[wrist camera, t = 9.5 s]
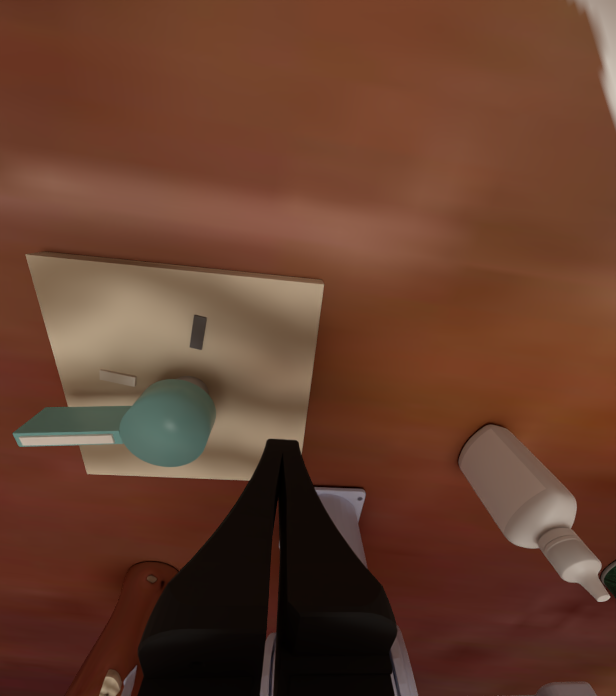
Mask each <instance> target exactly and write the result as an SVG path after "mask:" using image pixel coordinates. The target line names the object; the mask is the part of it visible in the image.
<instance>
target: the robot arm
mask: <svg viewBox="0 0 616 696" xmlns="http://www.w3.org/2000/svg"><path fill="white" fill-rule="evenodd" d="M365 496H366V493H365V490H363V489H352V488H327V487H314V486H313V484H312V481H311V479H310V477H309V474H308V472H307V469H306V467H305V464H304V461H303V458H302V455H301V451H300V447H299V442H298V441H297V440H286V439H268V440H267V441H266V445H265V448H264V451H263V454H262V456H261V459H260V461H259V463H258V465H257V467H256V469H255V471H254V473H253V475H252V477H251V479H250V481H249V482H248V484H247V486H246V488H245V489H244V491H243V493H242V494H241V496H240V498H239V499H238V501H237V502H236V504H235V505H234V507H233V508H232V509H231V511H230V512H229V514H228V515H227V516H226V518H225V519H224V520H223V522H222V523H221V524H220V526H219V527H218V528H217V530H216V531H215V532H214V533H213V535H212V536H211V537H210V538H209V539H208V541H207V542H206V543H205V544H204V545H203V546H202V547H201V549H200V550H199V551H198V552H197V553H196V554H195V555H194V557H193V558H192V559H191V560H190V561H189V562H188V563H187V564H186V565H185V566H184V567H183V568H182V569H181V570H180V571H179V572H178V573H177V574H176V575H175V576H174V577H173V578H172V579H171V580H170V581H169V582H168V584H167V585H166V587H165V589H164V590H163V592H162V594H161V596H160V597H159V599H158V601H157V603H156V605H155V607H154V609H153V611H152V613H151V615H150V617H149V619H148V622H147V624H146V627H145V630H144V632H143V635H142V638H141V641H140V644H139V646H138V658H139V662H140V665H141V669H142V672H143V676H144V677H143V680H142V683H141V686H140V689H139V692H138V695H137V696H418V694H417V689H416V685H415V681H414V677H413V673H412V669H411V665H410V661H409V657H408V654H407V650H406V646H405V643H404V640H403V637H402V634H401V631H400V629H399V627H398V626H397V625H396V621H395V617H394V614H393V612H392V609H391V606H390V603H389V600H388V598H387V596H386V593H385V591H384V589H383V586H382V585H381V584H380V583H379V582H378V581H377V579H376V578H375V577H374V576H373V575H372V574H371V573H370V571H369V570H368V568H367V564H366V559H365V554H364V549H363V544H362V540H361V535H360V530H359V525H358V521H359V518H360V514H361V511H362V507H363V503H364V500H365ZM277 501H278V503H279V536H280V541H279V548H280V570H279V591H278V611H277V630H276V633H271V634H269V636H268V638H267V640H266V630H267V614H268V598H269V580H270V563H271V546H272V535H273V528H274V521H275V515H276V508H277ZM265 641H266V642H265ZM518 696H597V695H596V694H595V692H594V690H593V689H592V687H591V686H590V684H588V683H587V682H554V683H549V684H546V685H544V686H542V687H541V688H540V689H539V690H538V691H537V694H536V695H518Z"/></svg>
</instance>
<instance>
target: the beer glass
mask: <svg viewBox="0 0 616 696" xmlns="http://www.w3.org/2000/svg"><path fill="white" fill-rule="evenodd" d="M177 573H178V571H177V570H176V569H175V568H173V567H172V566H170V565H167V564H164V563H160V562H142V563H139V564H136V565H134V566H132V567H131V568H130V569H129V570H128V572H127V574H126V576H125V579H124V582H123V586H122V589H121V593H120V596H119V599H118V602H117V604H116V606H115V609H114V611H113V613H112V615H111V617H110V619H109V621H108V623H107V624H106V626H105V628H104V629H103V631H102V633H101V635H100V636H99V638H98V639H97V641H96V643H95V644H94V646H93V648H92V649H91V651H90V652H89V654H88V656H87V657H86V659H85V661H84V662H83V664H82V666H81V667H80V669H79V671H78V672H77V674H76V676H75V678H74V679H73V681H72V683H71V685H70V686H69V688H68V690H67V692H66V693H65V695H64V696H137V695H138V692H139V689H140V686H141V683H142V680H143V677H144V676H143V672H142V669H141V665H140V662H139V658H138V646H139V644H140V641H141V638H142V635H143V632H144V630H145V627H146V624H147V622H148V619H149V617H150V615H151V613H152V611H153V609H154V607H155V605H156V603H157V601H158V599H159V597H160V596H161V594H162V592H163V590H164V589H165V587H166V585H167V584H168V582H169V581H170V580H171V579H172V578H173V577H174V576H175V575H176V574H177Z"/></svg>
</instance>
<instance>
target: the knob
mask: <svg viewBox="0 0 616 696" xmlns="http://www.w3.org/2000/svg"><path fill="white" fill-rule="evenodd" d="M215 419H216V408H215V405H214V402H213V400H212V399H211V397H210V396H209V395H208V394H207V393H206V392H205V391H204V390H203V389H202V388H200V387H199V386H197V385H195V384H193V383H191V382H188V381H184V380H179V379H166V380H161V381H158V382H156V383H153V384H152V385H150V386H149V387H148V388H147V389H146V390H145V391H144V392H143V393H142V395H141V396H140V397H139V398H138V399H137V400H136V402H135V403H134V404H133V405H132V406H90V407H46V408H44V409H43V410H42V411H40V412H39V413H38V414H37V415H35V416H34V417H33V418H32V419H30V420H29V421H28V422H26V423H25V424H24V425H23V426H21V427H20V428H19V429H17V430H16V431H15V432H14V433H12V434H13V436H14V438H15V439H16V441H17V443H18V445H19V447H25V446H64V445H102V444H123V443H124V445H125V446H126V448H127V449H128V450H129V451H130V452H131V453H132V454H133V455H135V456H136V457H138V458H139V459H141V460H143V461H145V462H147V463H150V464H153V465H156V466H162V467H178V466H183V465H186V464H189V463H191V462H193V461H194V460H196V459H197V458H198V457H199V456H200V455H201V454H202V452H203V451H204V449H205V446H206V444H207V441H208V438H209V436H210V433H211V430H212V428H213V425H214V423H215Z"/></svg>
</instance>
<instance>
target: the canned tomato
mask: <svg viewBox="0 0 616 696" xmlns="http://www.w3.org/2000/svg"><path fill="white" fill-rule="evenodd" d="M601 581H602V583H603V584H604V585H605V586H606V587H607V588H608V589H609V590H610V592H611V593H612V594H613V595H614V597H615V598H616V561H614V562H613V563H611V564H610V565H609V566H608V567H607V568H605V570H604V571H603V572H602V575H601Z"/></svg>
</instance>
